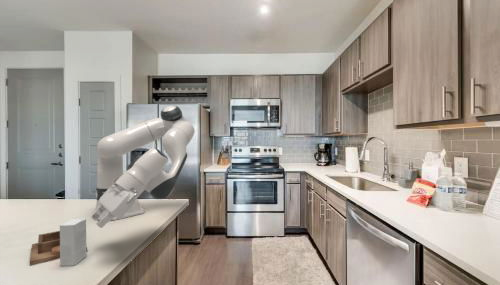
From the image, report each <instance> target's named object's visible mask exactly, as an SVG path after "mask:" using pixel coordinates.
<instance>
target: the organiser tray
mask: <svg viewBox="0 0 500 285" xmlns="http://www.w3.org/2000/svg"><path fill="white" fill-rule="evenodd" d="M37 239H38V241H37V242H36V243H32V244H31V248H30V255H29V256H30V257H29V266H35V265H38V264H39V265H40V264H43V263H47V262H51V261H54V260H60V230H57V231H52V232H45V233H40V234H38V238H37ZM86 251H87V252H88V246H87V245H86Z"/></svg>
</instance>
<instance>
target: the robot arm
mask: <svg viewBox="0 0 500 285" xmlns="http://www.w3.org/2000/svg"><path fill="white" fill-rule="evenodd" d="M194 135H195V127H194V125H193V124H192V123H191V122H189V121H186V119H185V117H184V115H183V111H182V110H181V108H180V107H179V106H178V105H169V106H166V107H164V108H163V109H162V110H161V111H160V117H157V118H156V117H155V118H152V119H148V120H146V121H144V122H141V123H138V124H135V125H132V126H131V127H130V126H129V127H128V128H125V129H122V130H119V131H118V132H115V133H111V134H109V135H106V136H104V137H103V138H101V139H100V140H99V141H98V143H97V144H96V151H97V168H96V169H97V170H96V171H97V172H96V173H97V174H96V177H97V178H96V181H97V182H96V183H97V184H96V185H97V186H96V190H95V199H96V205H95V209H94V210H95V211H94V213H93V214H92V215H91V216H90V217H91V219H93V220H94V221H97V220H98V221H97V222H96V225H97V227H99V228H103V227H104V226H106V225H107V224H108V223H109V222H111V221H116V220H121V219H125V218H129V217H134V216H137V215H141V214H143V215H144V214H145V212H146V209H145V208H144V207H142V206H141V204H140V201H139V199H138V198H139V197H140V196H141V195H142V193H143V192H144V191H146V192H148V194H149V195H150V196H151V197H153V199H154V200H164V199H167V198H168V197H169V196H170V195H171V194H172V192H173V191H174V189H175V188H176V184H177V181H178V178H179V176H180V174H181V172H182V170H183V168H184V167H185V166H184V165H185V163H186V161H187V159H188V153H187V146H188V145H189V144H190V142H191V140H193V137H194ZM159 139H161V146H162V148H163V150H164V152H165V153H166V154H167V155H165V153H163V151H161V150H160V149H158V148H157V147H151V148H149V149H148V150H147V151H146V152H144V153H143V154H142V155H140V156H136V158H135V159H134V160H133V161H132V162H130V163H129V164H128V166H127V169H126V171H125V172H124V160H123V158H124V157H123V156H124V155H127V154H128V153H130V152H133V151H134V150H137V149H139V148H140V147H144V146H146V145H148V144H150V143H152V142H155V141H157V140H159ZM169 159H170V161H171V168H170V169H169V171H168V172H166V171H164V170H163V169H164V168H165V167H166V165H167V164H168V162H169Z"/></svg>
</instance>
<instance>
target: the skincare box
mask: <svg viewBox="0 0 500 285" xmlns="http://www.w3.org/2000/svg"><path fill="white" fill-rule="evenodd" d="M59 231H60V258H59V260H60V261H59V262H60V263H59V264H60V267H68V266H71V267H72V266H76V265H78V263H80V262H81V261H82V260H83V259H85V258H86V257H87V253H88V250H87V251H86V246H87V218H72V219H70V220H68V221H66V222H63V223H62V224H60V225H59Z"/></svg>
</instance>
